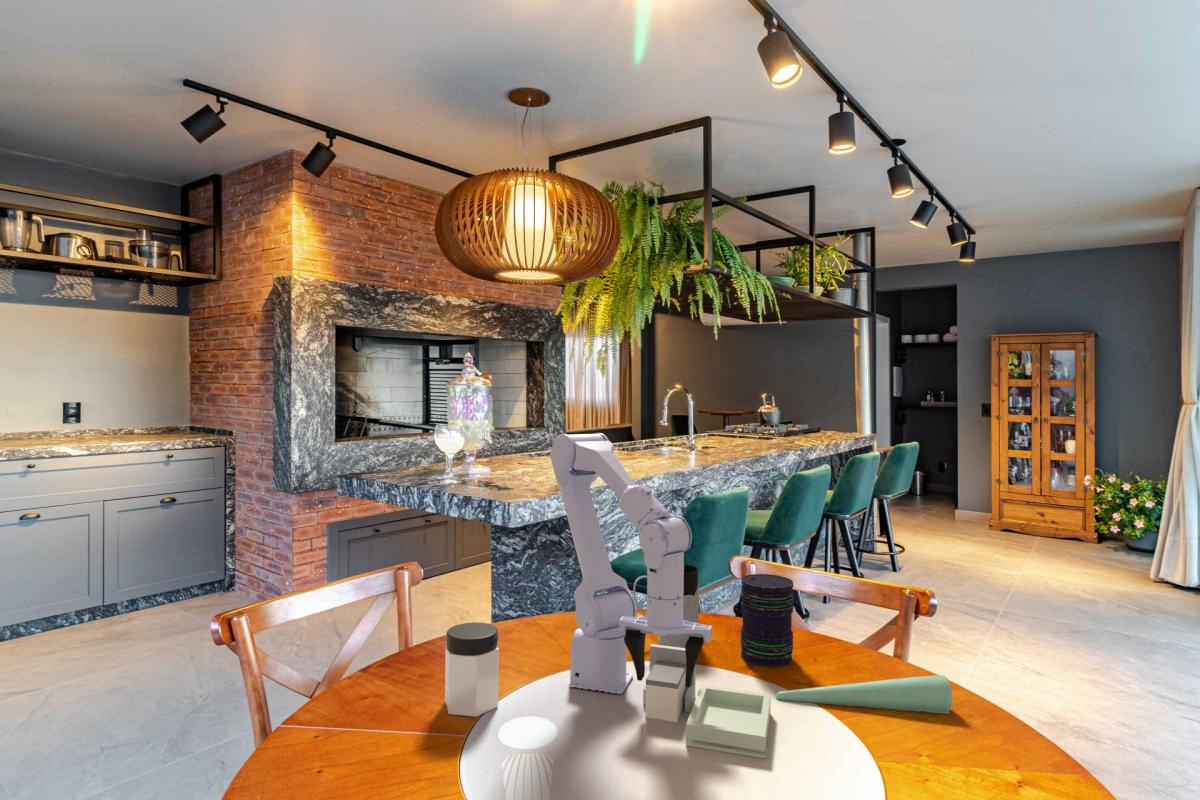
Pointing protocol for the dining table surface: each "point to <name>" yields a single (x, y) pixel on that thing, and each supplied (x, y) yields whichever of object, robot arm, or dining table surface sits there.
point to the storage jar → (767, 620)
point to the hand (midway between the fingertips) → (664, 681)
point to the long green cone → (882, 694)
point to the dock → (675, 657)
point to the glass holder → (688, 605)
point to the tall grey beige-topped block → (665, 691)
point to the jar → (471, 669)
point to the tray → (729, 721)
